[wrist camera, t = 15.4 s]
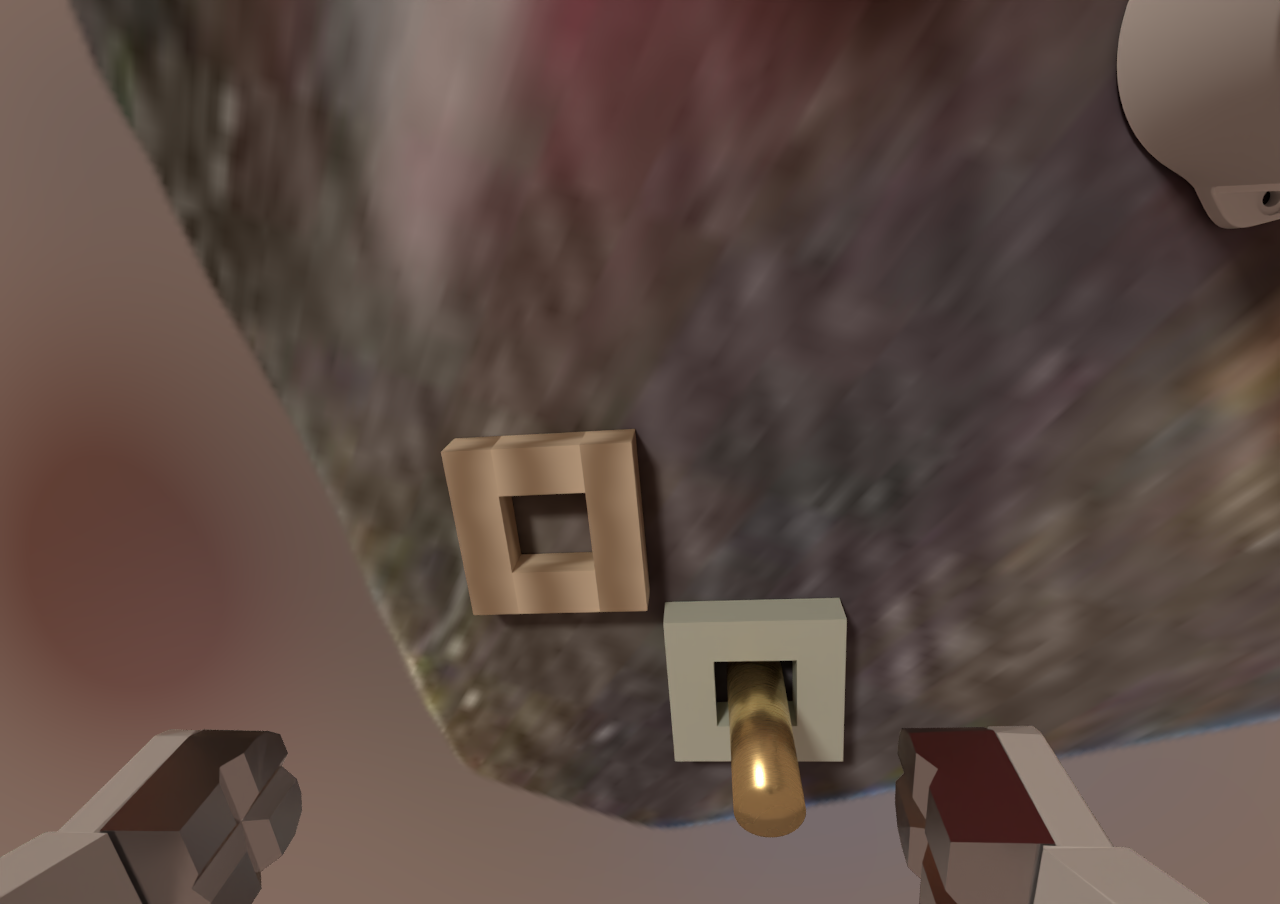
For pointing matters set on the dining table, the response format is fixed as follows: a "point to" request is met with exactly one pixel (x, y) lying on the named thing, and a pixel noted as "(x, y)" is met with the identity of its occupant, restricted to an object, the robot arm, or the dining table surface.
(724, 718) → the socket block
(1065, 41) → the dining table surface
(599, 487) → the birch mount
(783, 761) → the pin
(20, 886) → the robot arm
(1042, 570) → the dining table surface
